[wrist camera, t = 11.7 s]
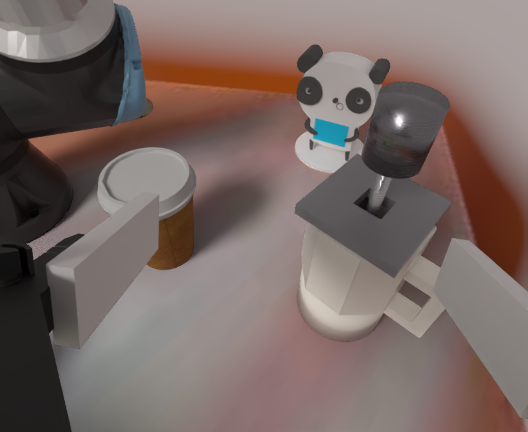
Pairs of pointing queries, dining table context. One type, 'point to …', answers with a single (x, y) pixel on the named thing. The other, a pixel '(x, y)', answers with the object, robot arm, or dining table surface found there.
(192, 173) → the disposable coffee cup
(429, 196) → the press pot
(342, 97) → the panda figurine
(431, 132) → the plunger
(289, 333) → the dining table surface
